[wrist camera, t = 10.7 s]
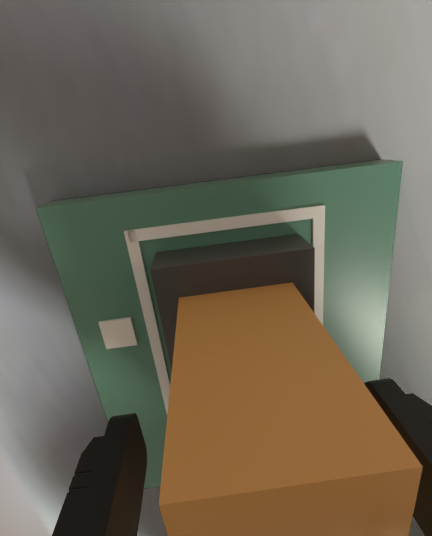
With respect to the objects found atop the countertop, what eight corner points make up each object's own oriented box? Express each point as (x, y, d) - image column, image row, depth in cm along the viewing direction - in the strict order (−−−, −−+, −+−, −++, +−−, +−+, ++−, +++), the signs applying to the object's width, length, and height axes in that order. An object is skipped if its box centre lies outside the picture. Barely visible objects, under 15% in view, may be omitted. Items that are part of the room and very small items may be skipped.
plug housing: (292, 282, 10) (422, 467, 4) (296, 457, 13) (375, 699, 7) (178, 297, 10) (158, 505, 4) (209, 469, 13) (222, 723, 7)
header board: (382, 159, 11) (553, 174, 6) (359, 434, 17) (438, 575, 11) (51, 201, 11) (-84, 257, 6) (135, 466, 16) (106, 625, 11)
